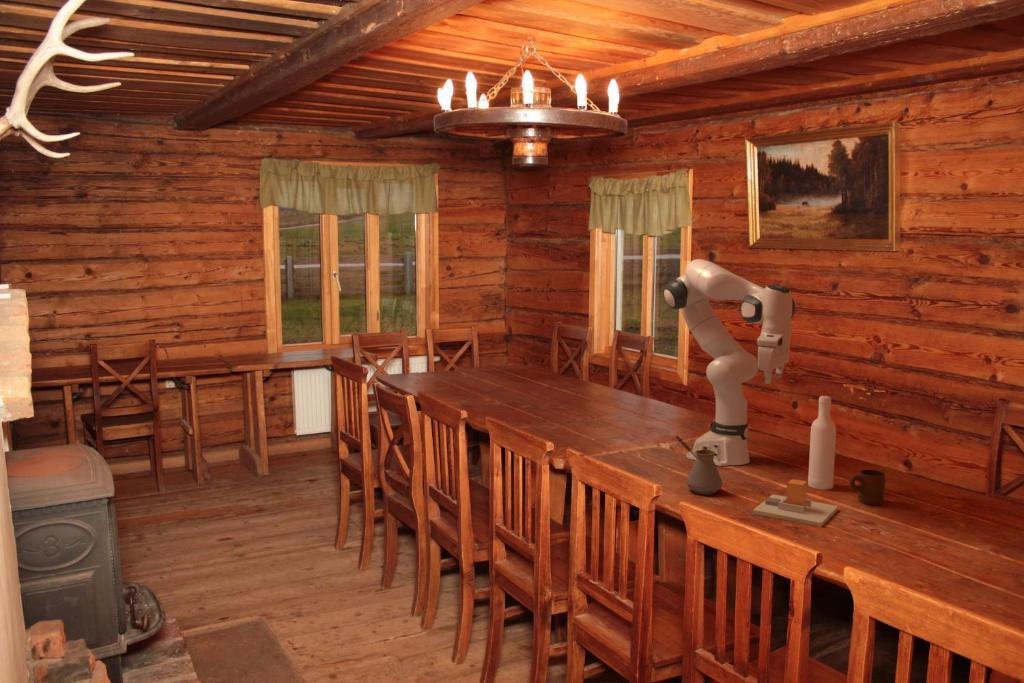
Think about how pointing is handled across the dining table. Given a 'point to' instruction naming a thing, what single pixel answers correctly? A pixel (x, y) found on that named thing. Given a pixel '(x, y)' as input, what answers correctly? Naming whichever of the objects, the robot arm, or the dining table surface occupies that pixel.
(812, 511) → the mount deck
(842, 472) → the dining table surface
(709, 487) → the coffee pot
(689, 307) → the robot arm
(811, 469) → the bottle
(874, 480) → the mug
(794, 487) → the orange rectangular block
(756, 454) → the dining table surface
